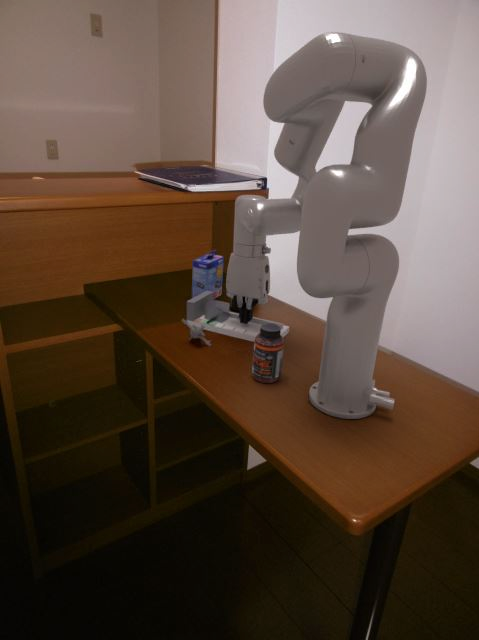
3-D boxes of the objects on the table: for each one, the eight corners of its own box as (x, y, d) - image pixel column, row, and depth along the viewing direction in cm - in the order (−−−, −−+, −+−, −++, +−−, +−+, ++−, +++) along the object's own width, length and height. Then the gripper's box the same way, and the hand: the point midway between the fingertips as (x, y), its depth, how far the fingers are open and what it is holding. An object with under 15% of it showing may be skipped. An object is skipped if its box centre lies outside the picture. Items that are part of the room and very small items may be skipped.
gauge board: (288, 331, 115) (291, 308, 113) (273, 346, 107) (276, 321, 104) (206, 313, 125) (206, 290, 122) (186, 325, 116) (186, 301, 114)
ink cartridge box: (207, 304, 131) (208, 255, 125) (190, 300, 133) (191, 252, 127) (223, 294, 139) (224, 248, 134) (207, 291, 141) (208, 245, 136)
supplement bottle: (247, 380, 92) (250, 329, 88) (257, 367, 97) (260, 318, 93) (275, 387, 90) (280, 335, 86) (284, 373, 95) (289, 324, 91)
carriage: (229, 317, 118) (229, 303, 117) (216, 326, 112) (216, 311, 111) (212, 313, 120) (212, 299, 119) (198, 322, 114) (199, 307, 113)
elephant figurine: (217, 335, 112) (219, 338, 104) (202, 351, 112) (202, 355, 103) (190, 310, 111) (189, 310, 103) (175, 326, 111) (173, 328, 103)
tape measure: (252, 314, 126) (253, 301, 124) (227, 312, 126) (228, 299, 125) (255, 306, 132) (255, 293, 130) (231, 303, 133) (232, 291, 131)
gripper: (284, 251, 107) (278, 323, 114) (228, 242, 113) (225, 311, 120) (272, 257, 101) (267, 333, 108) (213, 248, 107) (212, 320, 114)
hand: (245, 321), depth 114 cm, fingers closed
